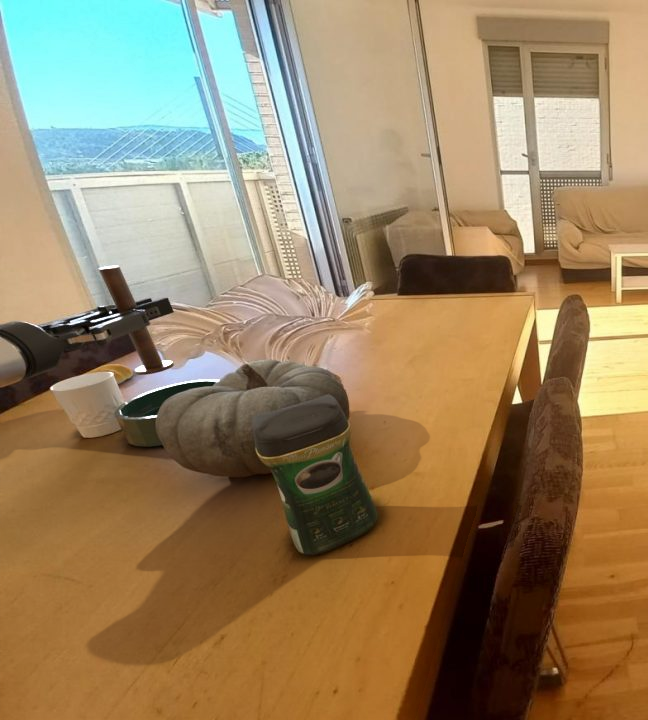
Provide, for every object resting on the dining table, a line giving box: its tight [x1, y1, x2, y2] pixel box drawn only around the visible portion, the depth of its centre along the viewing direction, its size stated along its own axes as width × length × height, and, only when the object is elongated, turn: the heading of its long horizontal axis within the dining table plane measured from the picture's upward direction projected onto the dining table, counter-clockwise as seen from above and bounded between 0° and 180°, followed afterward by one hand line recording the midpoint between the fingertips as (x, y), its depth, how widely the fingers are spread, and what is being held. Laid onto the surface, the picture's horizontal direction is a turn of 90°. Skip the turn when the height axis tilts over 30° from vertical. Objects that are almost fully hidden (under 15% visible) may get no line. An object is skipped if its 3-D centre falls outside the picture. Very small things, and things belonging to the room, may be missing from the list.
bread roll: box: [82, 363, 134, 386], centre depth 107 cm, size 8×9×4 cm
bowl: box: [114, 378, 220, 448], centre depth 88 cm, size 16×16×6 cm
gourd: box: [155, 358, 351, 478], centre depth 77 cm, size 25×25×17 cm
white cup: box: [49, 372, 126, 439], centre depth 87 cm, size 8×8×10 cm
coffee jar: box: [252, 395, 378, 556], centre depth 59 cm, size 10×8×19 cm
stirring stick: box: [98, 265, 175, 376], centre depth 80 cm, size 5×5×18 cm
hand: (160, 305), depth 84 cm, fingers closed on stirring stick, 2 cm apart
